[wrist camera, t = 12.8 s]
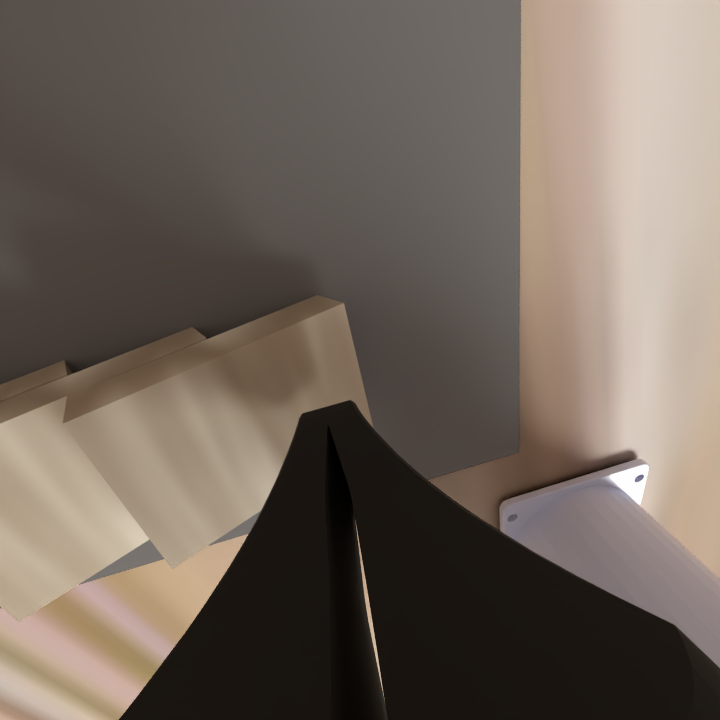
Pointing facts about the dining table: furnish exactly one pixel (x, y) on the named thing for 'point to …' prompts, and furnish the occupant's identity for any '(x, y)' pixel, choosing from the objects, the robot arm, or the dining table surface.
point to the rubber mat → (272, 194)
